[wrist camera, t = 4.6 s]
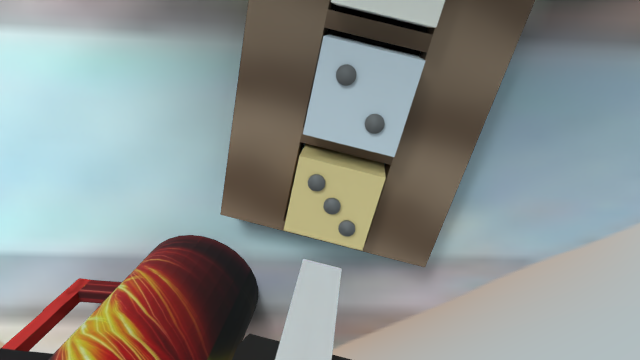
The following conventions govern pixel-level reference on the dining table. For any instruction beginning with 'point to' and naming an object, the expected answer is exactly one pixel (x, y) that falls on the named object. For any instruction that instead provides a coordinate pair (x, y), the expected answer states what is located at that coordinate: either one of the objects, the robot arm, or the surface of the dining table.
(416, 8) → the tile
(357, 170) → the tile
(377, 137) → the two-dot tile
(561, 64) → the dining table surface
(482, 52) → the board
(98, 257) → the dining table surface
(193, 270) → the mug
